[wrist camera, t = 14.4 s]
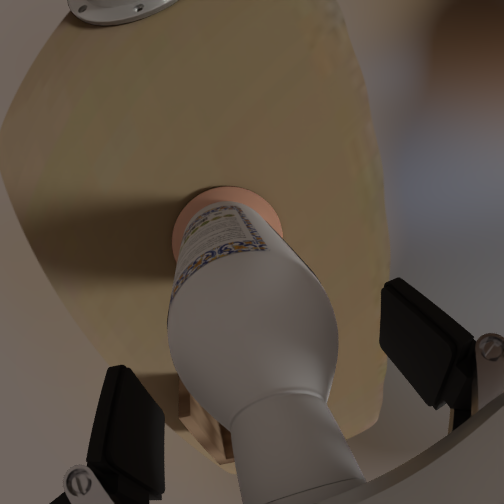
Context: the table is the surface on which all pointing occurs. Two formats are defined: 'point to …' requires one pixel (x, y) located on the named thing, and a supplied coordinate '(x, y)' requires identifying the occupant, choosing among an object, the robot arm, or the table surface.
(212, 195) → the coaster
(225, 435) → the shelf bay
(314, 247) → the table surface
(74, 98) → the table surface
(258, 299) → the bath foam
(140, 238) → the table surface
